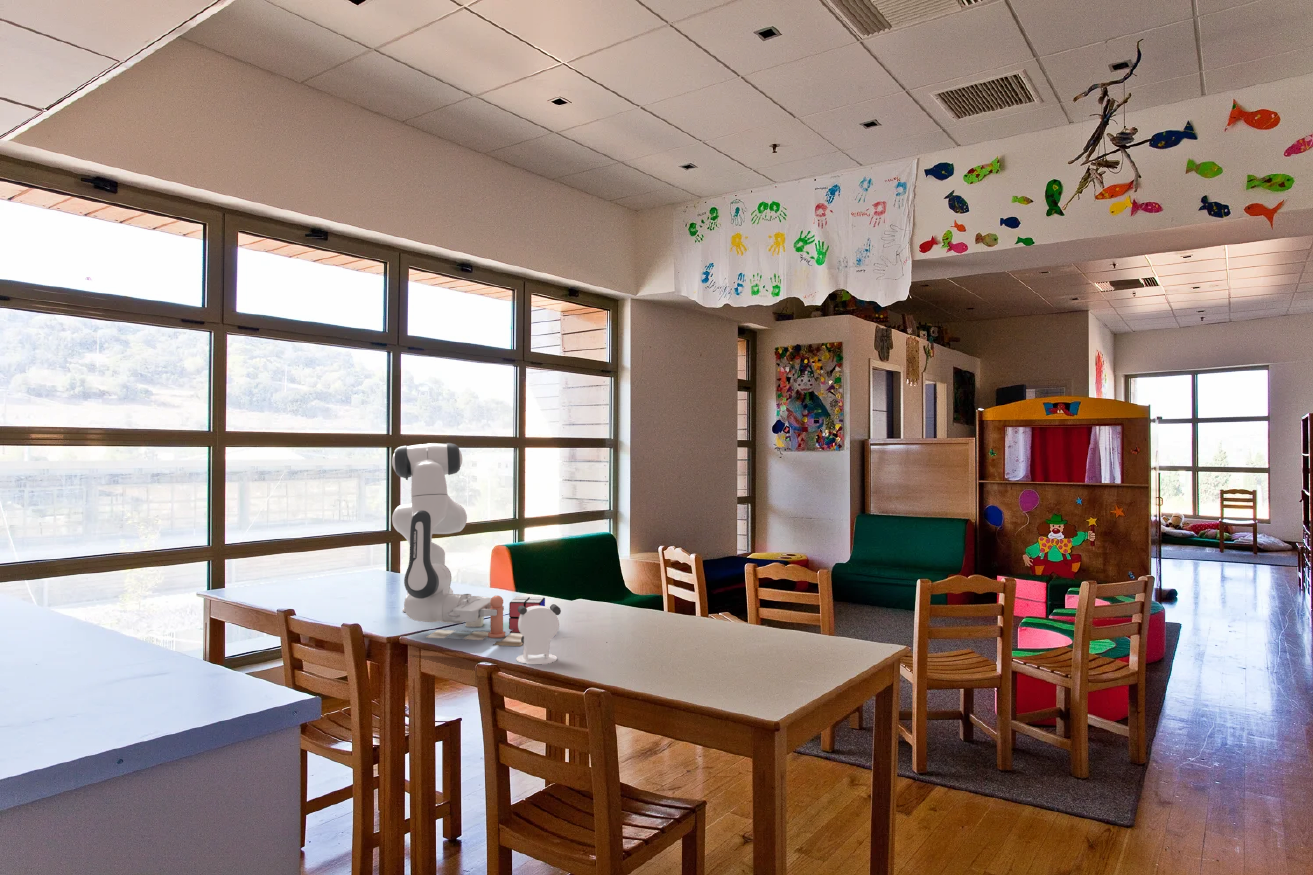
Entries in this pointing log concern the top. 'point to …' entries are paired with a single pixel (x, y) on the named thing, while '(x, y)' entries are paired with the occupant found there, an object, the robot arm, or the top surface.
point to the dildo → (497, 618)
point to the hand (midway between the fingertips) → (500, 610)
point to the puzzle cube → (521, 601)
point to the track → (479, 637)
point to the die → (476, 623)
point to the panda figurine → (537, 633)
